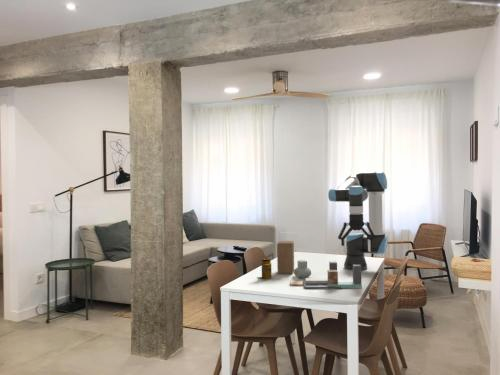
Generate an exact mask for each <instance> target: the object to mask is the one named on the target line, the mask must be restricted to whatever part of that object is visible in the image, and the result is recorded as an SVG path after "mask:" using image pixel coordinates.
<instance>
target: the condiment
mask: <svg viewBox="0 0 500 375" xmlns="http://www.w3.org/2000/svg"><path fill="white" fill-rule="evenodd" d="M272 273H273V272H272V261H271V258H266V257H264V258H262V259H261V276H258V277H257V276H256V279H258V280H260V281H264V280H265V281H266V280H274V279H275V278H274V277H272Z"/></svg>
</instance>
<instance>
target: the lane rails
mask: <svg viewBox="0 0 500 375" xmlns="http://www.w3.org/2000/svg"><path fill="white" fill-rule="evenodd" d="M302 282H303V287H304V288H305V289H304V290H342V288H341V286H328V282H317V283H306V282H305V278H302Z"/></svg>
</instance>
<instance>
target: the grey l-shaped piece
mask: <svg viewBox="0 0 500 375" xmlns="http://www.w3.org/2000/svg"><path fill="white" fill-rule="evenodd" d="M327 286H341V289H362V288H363V284H362V270H361V265H353V270H352V281H338V284H328V285H327Z"/></svg>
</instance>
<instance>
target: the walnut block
mask: <svg viewBox="0 0 500 375" xmlns="http://www.w3.org/2000/svg"><path fill="white" fill-rule="evenodd" d="M338 276H339V271H338V269H337V270H329V269H327V278H328V284H338V282H339V277H338Z"/></svg>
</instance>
